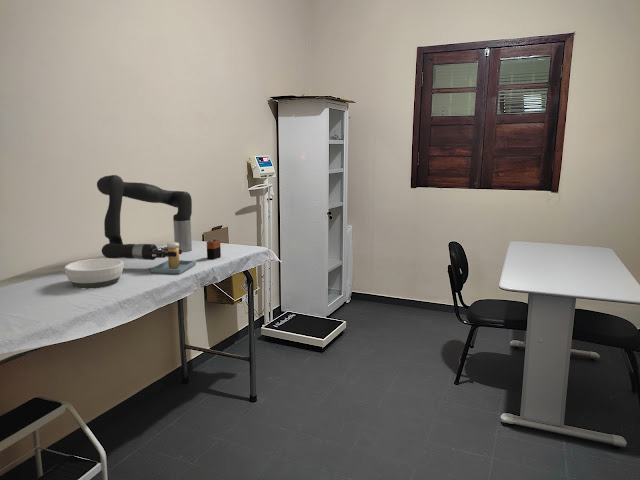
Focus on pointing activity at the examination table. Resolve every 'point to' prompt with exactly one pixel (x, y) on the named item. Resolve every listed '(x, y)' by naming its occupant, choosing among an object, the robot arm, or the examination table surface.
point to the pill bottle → (173, 261)
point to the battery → (213, 249)
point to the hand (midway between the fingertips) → (178, 253)
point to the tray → (165, 268)
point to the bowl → (94, 272)
